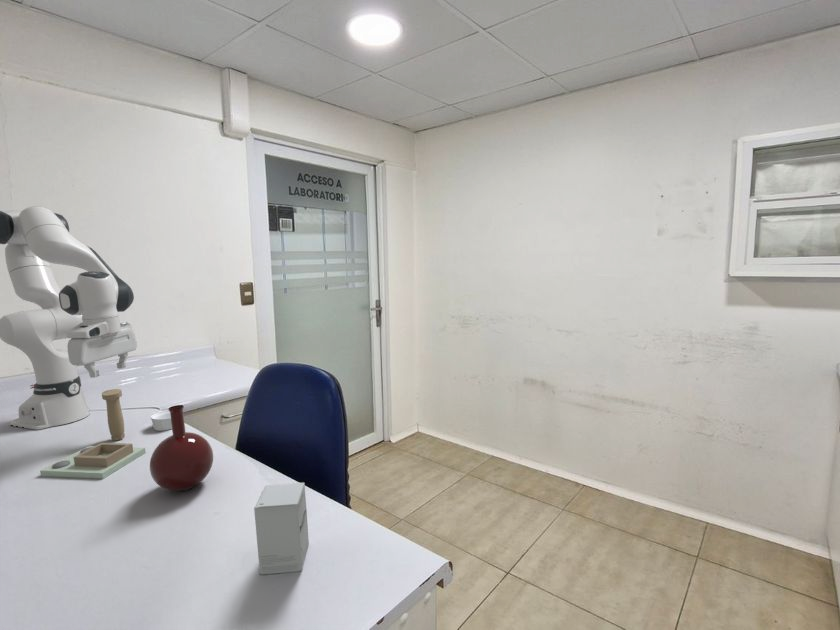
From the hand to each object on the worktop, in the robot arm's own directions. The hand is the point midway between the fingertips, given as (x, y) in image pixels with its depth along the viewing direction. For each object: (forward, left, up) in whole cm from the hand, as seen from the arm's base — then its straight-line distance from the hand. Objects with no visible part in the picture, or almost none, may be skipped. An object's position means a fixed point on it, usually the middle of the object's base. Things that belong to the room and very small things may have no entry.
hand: (108, 372), depth 128 cm
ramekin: (+9, +10, -22) cm, 25 cm away
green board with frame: (+7, -15, -21) cm, 27 cm away
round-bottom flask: (+40, -24, -21) cm, 51 cm away
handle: (0, 0, -21) cm, 21 cm away
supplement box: (+75, -45, -21) cm, 90 cm away
